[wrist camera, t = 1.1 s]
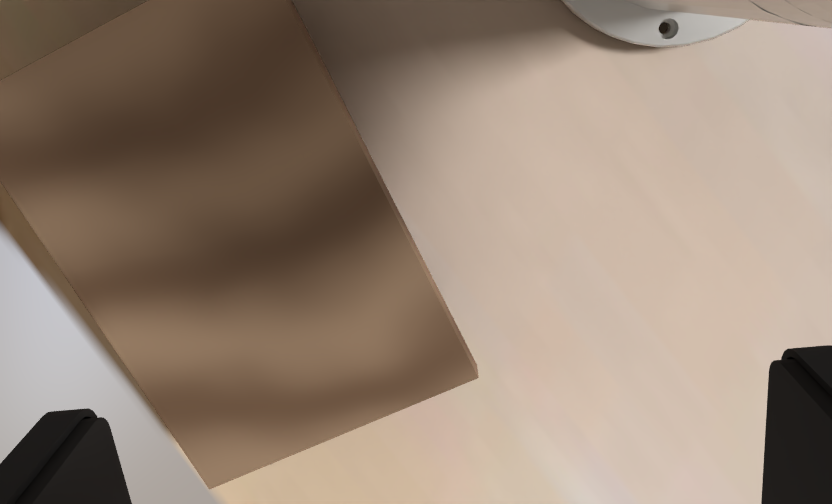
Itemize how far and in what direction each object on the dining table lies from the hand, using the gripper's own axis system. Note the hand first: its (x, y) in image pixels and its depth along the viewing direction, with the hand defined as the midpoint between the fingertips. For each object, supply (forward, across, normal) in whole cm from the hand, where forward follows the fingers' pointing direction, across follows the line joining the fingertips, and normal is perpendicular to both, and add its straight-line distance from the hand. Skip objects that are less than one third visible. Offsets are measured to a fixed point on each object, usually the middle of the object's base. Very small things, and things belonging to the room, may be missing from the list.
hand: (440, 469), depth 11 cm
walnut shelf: (+27, +9, +3) cm, 28 cm away
